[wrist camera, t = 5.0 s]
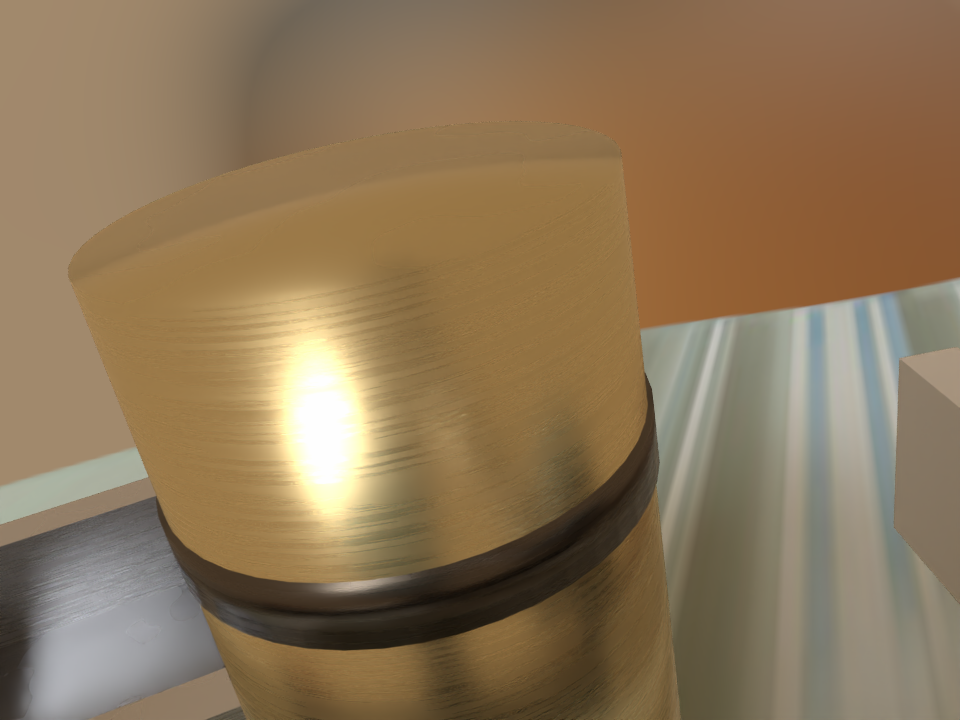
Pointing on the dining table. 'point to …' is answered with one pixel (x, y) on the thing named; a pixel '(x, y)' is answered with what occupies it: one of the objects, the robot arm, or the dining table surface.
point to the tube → (402, 424)
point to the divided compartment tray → (103, 618)
